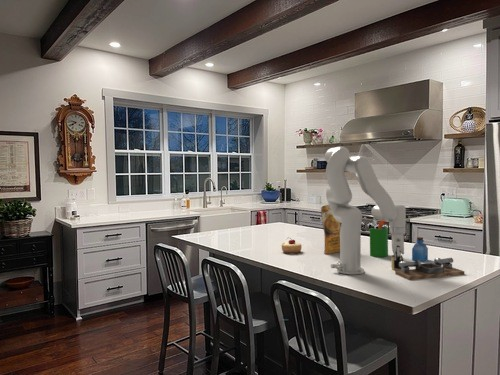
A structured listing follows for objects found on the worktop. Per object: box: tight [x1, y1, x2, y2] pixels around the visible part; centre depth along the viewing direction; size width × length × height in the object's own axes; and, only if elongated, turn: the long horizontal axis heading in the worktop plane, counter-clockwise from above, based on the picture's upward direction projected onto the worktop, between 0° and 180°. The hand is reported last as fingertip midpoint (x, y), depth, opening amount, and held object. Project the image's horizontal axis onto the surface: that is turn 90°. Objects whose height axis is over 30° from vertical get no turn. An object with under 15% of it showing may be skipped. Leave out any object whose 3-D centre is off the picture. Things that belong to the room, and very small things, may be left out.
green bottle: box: [369, 220, 389, 258], centre depth 217 cm, size 10×9×20 cm
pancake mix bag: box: [320, 204, 341, 255], centre depth 228 cm, size 7×19×28 cm, turn 132°
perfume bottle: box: [411, 236, 429, 263], centre depth 205 cm, size 6×6×12 cm
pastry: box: [280, 237, 302, 254], centre depth 230 cm, size 12×12×9 cm
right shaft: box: [433, 257, 454, 269], centre depth 181 cm, size 9×4×7 cm, turn 114°
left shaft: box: [399, 260, 422, 273], centre depth 177 cm, size 9×4×7 cm, turn 94°
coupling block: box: [390, 254, 404, 271], centre depth 188 cm, size 5×5×7 cm
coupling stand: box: [394, 262, 465, 281], centre depth 177 cm, size 29×10×4 cm, turn 104°
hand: (397, 266), depth 188 cm, fingers closed on coupling block, 5 cm apart
